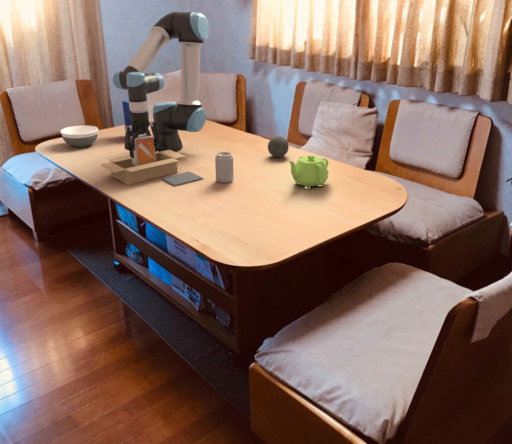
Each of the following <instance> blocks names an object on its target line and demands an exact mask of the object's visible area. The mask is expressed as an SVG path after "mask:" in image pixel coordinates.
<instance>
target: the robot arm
mask: <svg viewBox="0 0 512 444" xmlns="http://www.w3.org/2000/svg"><path fill="white" fill-rule="evenodd" d="M209 34H210V26H209V22H208V19H207V17H206V16H205V15H204V14H203V13H200V12H193V11H192V12H191V11H190V12H189V11H188V12H187V11H185V12H183V11H181V12H180V11H173V12H169V13H167V14H165V15H163V16H162V17H161V18H160V19H159V20H157V21H156V22H155V24H154V25H153V26H152V27H151V28H150V34H149V35H148V37H147V38H146V40H145V41H144V42H143V43H142V45H141V47H139V49H138V50H137V52H136V53H135V54H134V55H133V57H132V59H131V60H130V61H129V62H128V64H127V65H126V67H125V68H124V70H118V71H116V72H114V74H113V76H112V83H113V85H114V87H115V88H116V89H119V90H124V91H125V90H127V95H128V100H129V107H130V111H131V112H130V117H131V125H130V126H125V125H124V131H125V134H124V135H125V136H124V137H125V139H124V150H126V151H129V155H130V157H131V158H132V164H134V165H135V166H136V165H137V160H136V151H135V150H134V147H135V139H136V138H137V137H138V135H139V133H142V132H145V134H146V135H148V136H152V137H153V141H154V153H156V151H158V152H161V151H166V150H172V151H174V152H178V151H181V150H182V149H183V142H182V140H181V137H180V135H179V131H183V132H188V133H191V132H192V133H197V132H200V131H201V130H202V129H203V127H204V126H205V123H206V120H207V112H206V110H205V109H204V108H203V107H202V102H201V101H200V100H199V95H200V94H199V93H200V67H201V66H200V65H201V64H200V62H201V61H200V60H201V47H202V46H204V44H205V43H204V42H205V41H206V40H207V39H208V38H209ZM174 39H178V44H179V45H180V47H181V58H180V61H181V62H180V65H181V66H180V68H181V69H180V99H179V100H178V101H173V100H170V101H163V102H158V103H155V104H153V106H152V117H153V121H152V120H151V121H150V120H149V119H150V116H149V115H150V114H149V111H148V110H149V106H148V105H149V104H148V97H147V95H148V94H152V93H155V92H158V91H160V90H162V89H163V88H164V86H165V78H164V76H163V75H162V74H161V73H159V72H150V73H146V71H147V69H148V68H149V67H150V65H151V64H152V62H153V60H155V58H157V55H158V54H159V52H160V51H161V50H162V49H163V48H164V46H165V45H167V44H169V42H170V41H171V40H174ZM149 127H150V129H149ZM131 128H132V129H133V133H132V134H133V135H132V138H131ZM150 131H151V132H150ZM151 133H152V134H151ZM155 161H156V159H155Z"/></svg>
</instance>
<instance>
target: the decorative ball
mask: <svg viewBox="0 0 512 444" xmlns="http://www.w3.org/2000/svg"><path fill="white" fill-rule="evenodd" d="M267 151H268V153H269V154H270V155H271V156H272V157H275V158H282V157H284V156H285V155H287V154H288V151H289V142H288V140H287V139H286V138H284V137H282V136H280V135H279V136H274V137H272V138H270V139H269V141H268V144H267Z"/></svg>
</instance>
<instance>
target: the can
mask: <svg viewBox="0 0 512 444" xmlns="http://www.w3.org/2000/svg"><path fill="white" fill-rule="evenodd" d="M214 159H215V161H214V162H215V180H216V181H217V182H218V183H221V184H229V183H231V182H233V180H234V177H235V175H234V156H233V155H232V153H231V152H229V151H220V152H217V153H216V156H215V158H214Z"/></svg>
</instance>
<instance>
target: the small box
mask: <svg viewBox="0 0 512 444" xmlns="http://www.w3.org/2000/svg"><path fill="white" fill-rule="evenodd" d="M131 138H132V136H131ZM131 138H130V139H131ZM153 139H154V137H153V135H152V136H148V135H146V134H142V135H138V137H137V138H136V139H135V147H134V150H135V151H136V160H137V165H136V166H139V165H143V164H148V163H153V162H155V153H154V141H153ZM133 165H134V164H133ZM134 166H135V165H134Z"/></svg>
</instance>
